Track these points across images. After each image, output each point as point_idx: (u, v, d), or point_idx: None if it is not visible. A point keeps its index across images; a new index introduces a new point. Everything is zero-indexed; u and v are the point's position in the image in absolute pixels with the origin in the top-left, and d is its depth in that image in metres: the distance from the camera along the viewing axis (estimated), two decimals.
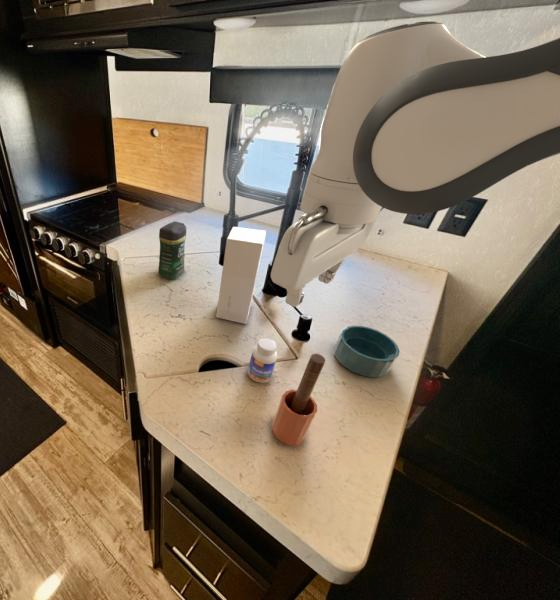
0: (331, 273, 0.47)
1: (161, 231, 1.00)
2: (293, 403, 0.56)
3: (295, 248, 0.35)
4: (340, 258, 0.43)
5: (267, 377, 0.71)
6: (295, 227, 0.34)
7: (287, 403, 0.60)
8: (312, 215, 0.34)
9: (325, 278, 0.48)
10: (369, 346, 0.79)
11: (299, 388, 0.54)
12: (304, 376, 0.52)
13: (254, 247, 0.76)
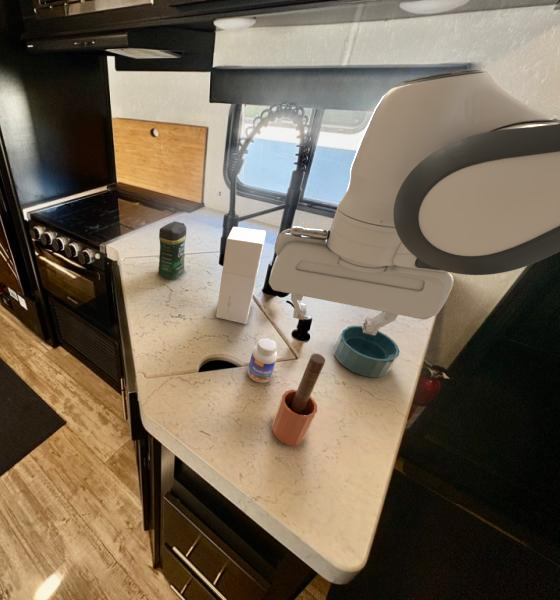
0: (370, 324, 0.43)
1: (161, 231, 1.00)
2: (293, 403, 0.56)
3: (278, 251, 0.42)
4: (363, 302, 0.41)
5: (267, 377, 0.71)
6: None
7: (287, 403, 0.60)
8: (301, 230, 0.40)
9: (365, 327, 0.44)
10: (369, 346, 0.79)
11: (299, 388, 0.54)
12: (304, 376, 0.52)
13: (254, 247, 0.76)
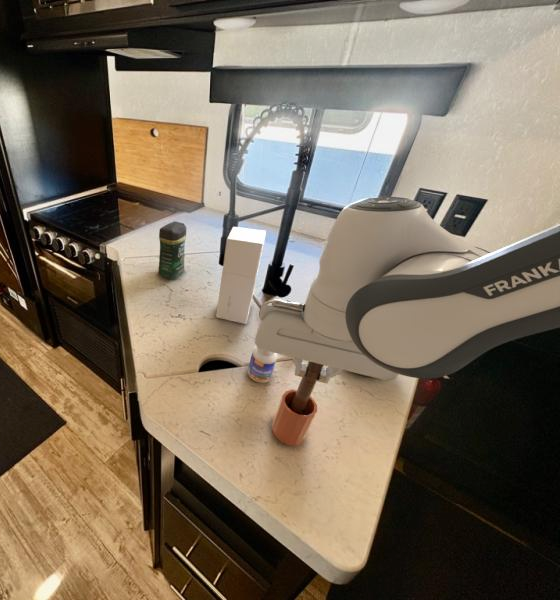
0: (322, 374, 0.50)
1: (161, 231, 1.00)
2: (293, 403, 0.56)
3: (262, 317, 0.49)
4: (334, 364, 0.47)
5: (267, 377, 0.71)
6: (263, 303, 0.48)
7: (287, 403, 0.60)
8: (281, 303, 0.46)
9: None
10: None
11: (299, 388, 0.54)
12: None
13: (254, 247, 0.76)
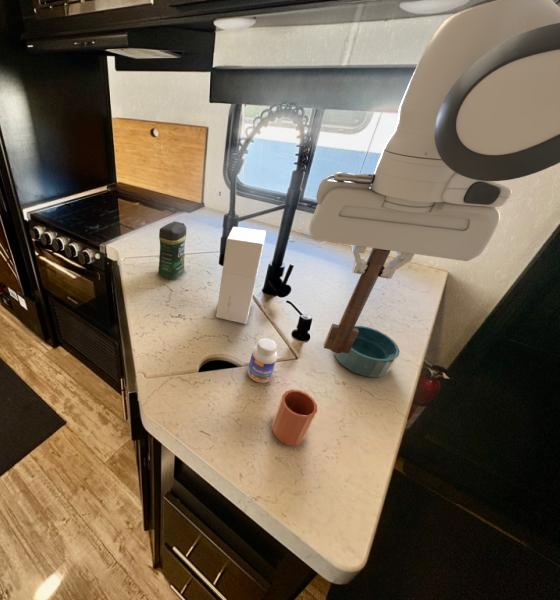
0: (386, 267, 0.45)
1: (161, 231, 1.00)
2: (346, 312, 0.51)
3: (321, 199, 0.43)
4: (405, 246, 0.41)
5: (267, 377, 0.71)
6: (324, 179, 0.42)
7: (287, 403, 0.60)
8: (346, 175, 0.41)
9: None
10: (369, 346, 0.79)
11: (355, 291, 0.48)
12: None
13: (254, 247, 0.76)
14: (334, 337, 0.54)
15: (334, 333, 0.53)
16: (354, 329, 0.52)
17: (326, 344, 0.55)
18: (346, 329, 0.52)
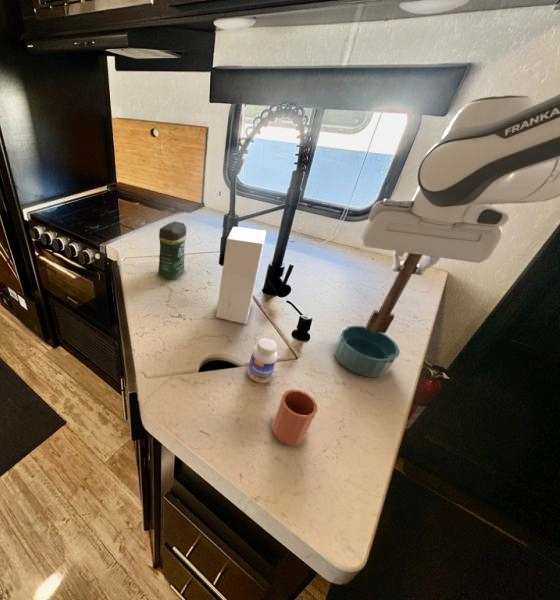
0: (419, 267, 0.61)
1: (161, 231, 1.00)
2: (385, 300, 0.67)
3: (372, 217, 0.60)
4: (434, 252, 0.58)
5: (267, 377, 0.71)
6: (375, 204, 0.59)
7: (287, 403, 0.60)
8: (392, 201, 0.57)
9: (414, 270, 0.62)
10: (369, 346, 0.79)
11: (393, 285, 0.65)
12: None
13: (254, 247, 0.76)
14: (374, 320, 0.70)
15: (375, 317, 0.70)
16: (391, 314, 0.69)
17: (368, 326, 0.72)
18: (385, 314, 0.68)
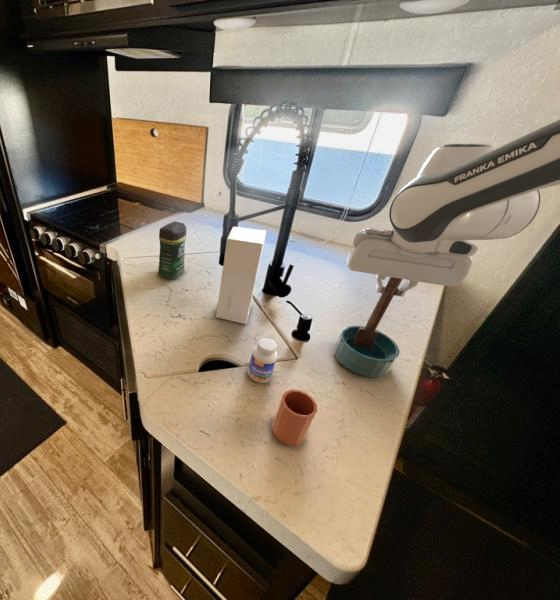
0: (399, 289, 0.66)
1: (161, 231, 1.00)
2: (370, 318, 0.72)
3: (356, 244, 0.65)
4: (412, 277, 0.63)
5: (267, 377, 0.71)
6: (358, 232, 0.64)
7: (287, 403, 0.60)
8: (374, 230, 0.62)
9: None
10: None
11: (377, 304, 0.70)
12: None
13: (254, 247, 0.76)
14: (361, 336, 0.76)
15: (361, 333, 0.75)
16: (376, 330, 0.74)
17: (355, 341, 0.77)
18: (370, 330, 0.73)
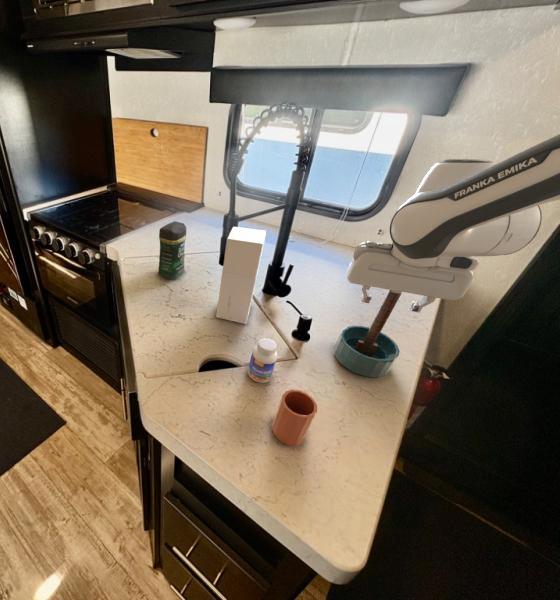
0: (416, 305, 0.65)
1: (161, 231, 1.00)
2: (369, 332, 0.72)
3: (356, 257, 0.65)
4: (413, 290, 0.63)
5: (267, 377, 0.71)
6: (358, 245, 0.64)
7: (287, 403, 0.60)
8: (374, 243, 0.62)
9: (412, 307, 0.66)
10: None
11: (376, 318, 0.70)
12: (382, 307, 0.68)
13: (254, 247, 0.76)
14: (360, 349, 0.75)
15: (360, 346, 0.75)
16: (374, 344, 0.74)
17: None
18: (369, 344, 0.73)
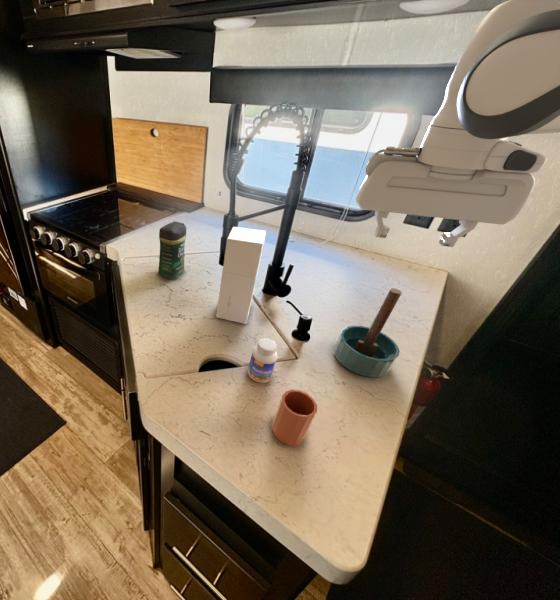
0: (449, 236, 0.49)
1: (161, 231, 1.00)
2: (369, 332, 0.72)
3: (370, 171, 0.49)
4: (447, 212, 0.47)
5: (267, 377, 0.71)
6: (374, 153, 0.48)
7: (287, 403, 0.60)
8: (395, 148, 0.46)
9: (443, 240, 0.50)
10: None
11: (376, 318, 0.70)
12: (382, 307, 0.68)
13: (254, 247, 0.76)
14: (360, 349, 0.75)
15: (360, 346, 0.75)
16: (374, 344, 0.74)
17: None
18: (369, 344, 0.73)
